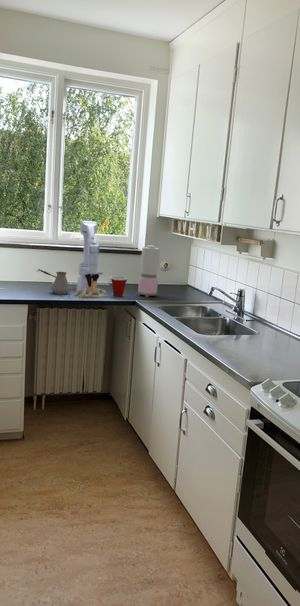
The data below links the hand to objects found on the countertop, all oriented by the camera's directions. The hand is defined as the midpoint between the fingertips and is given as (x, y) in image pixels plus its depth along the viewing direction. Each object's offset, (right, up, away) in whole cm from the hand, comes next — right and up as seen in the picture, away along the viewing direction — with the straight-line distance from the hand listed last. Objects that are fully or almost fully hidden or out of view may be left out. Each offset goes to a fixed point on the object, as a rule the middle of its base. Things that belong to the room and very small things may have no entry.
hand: (91, 286), depth 310 cm
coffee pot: (-23, -4, -2) cm, 24 cm away
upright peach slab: (0, -3, +1) cm, 3 cm away
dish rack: (0, -6, +1) cm, 6 cm away
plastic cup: (+16, -6, +7) cm, 18 cm away
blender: (+35, -5, +19) cm, 40 cm away
